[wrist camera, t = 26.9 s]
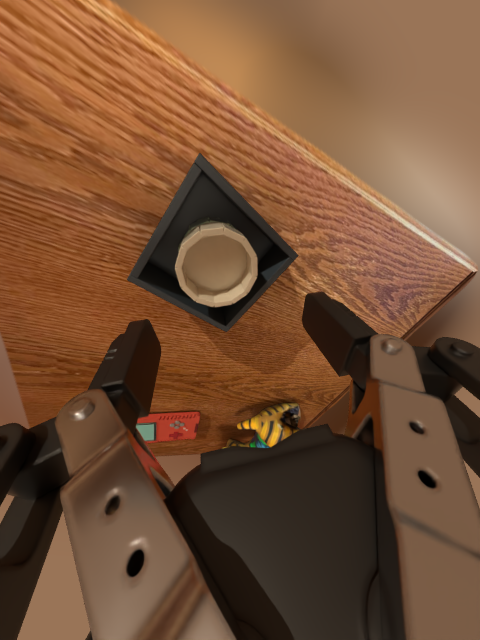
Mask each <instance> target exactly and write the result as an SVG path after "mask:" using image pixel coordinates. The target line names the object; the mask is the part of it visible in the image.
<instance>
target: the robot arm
mask: <svg viewBox="0 0 480 640" xmlns="http://www.w3.org/2000/svg"><path fill="white" fill-rule="evenodd" d="M302 323H303V326H304V328H305V330H306V331H307V333H308V334H309V336H310V337H311V338H312V340H313V341H314V342H315V344H316V345H317V347H318V348H319V349H320V351H321V352H322V353H323V355H324V356H325V358H326V359H327V360H328V362H329V363H330V365H331V366H332V367H333V369H334V370H335V371H336V373H337V374H338V376H339V377H340V376H345V375H350V376H351V377H352V380H351V382H350V397H349V413H348V422H347V426H346V429H345V433H344V435H343V434H337V433H332V431H331V429H330V427H329V426H328V424H324V425H320V426H315V427H311V428H307V429H303V430H299V431H297V432H295V433H293V434H292V435H290V436H288V437H287V438H285V439H283V440H282V441H280V442H278V443H277V444H275V445H273V446H272V447H269V448H258V447H241V446H231V447H227V448H223V449H219V450H215V451H210V452H206V453H202V454H201V464H200V465H198V466H196V467H195V468H194V469H192V470H191V471H190V472H189V473H187V474H186V475H185V476H184V477H183V478H182V479H181V480H180V481H179V482H178V483H177V485H176V486H175V485H174V484H173V482H172V481H171V479H170V478H169V477H168V475H167V474H166V472H165V471H164V470H163V468H162V467H161V466H160V464H159V463H158V462H157V459H156V458H155V456H154V455H153V453H152V451H151V450H150V448H149V447H148V445H147V444H146V442H145V440H144V439H143V437H142V436H141V434H140V432H139V431H138V429H137V428H136V425H137V421H138V418H143V417H147V416H149V412H150V407H151V402H152V397H153V392H154V387H155V382H156V377H157V372H158V367H159V362H160V357H161V346H160V342H159V340H158V338H157V336H156V333H155V331H154V329H153V327H152V325H151V323H150V321H149V320H148V319H146V320H139V321H133V322H130V323H129V325H128V327H127V329H126V332H125V334H120V335H119V336H118V337H117V338H116V339H115V340H114V341H113V342H112V343H111V345H110V347H109V349H108V351H107V352H108V353H106V355H105V357H104V361H102V363H101V365H100V367H99V369H98V371H97V373H96V375H95V377H94V378H93V380H92V382H91V384H90V386H89V388H88V390H87V391H84V392H82V393H80V394H78V395H77V396H75V397H74V398H72V399H71V400H70V401H68V402H67V403H66V404H65V405H64V406H63V407H62V409H61V410H60V411H59V413H58V415H57V417H55V418H52V419H50V420H48V421H46V422H43V423H41V424H39V425H37V426H34V427H32V428H30V429H26V428H25V427H23V426H21V425H20V424H17V423H11V424H6V425H3V426H0V505H1V504H2V502H3V500H4V498H5V497H6V495H7V494H8V495H12V496H15V497H14V499H13V501H12V503H11V505H10V506H9V508H8V510H7V512H6V514H5V516H4V518H3V520H2V522H1V524H0V640H17V637H18V634H19V632H20V629H21V626H22V623H23V620H24V618H25V615H26V612H27V609H28V606H29V604H30V601H31V598H32V595H33V592H34V589H35V587H36V584H37V581H38V579H39V576H40V573H41V570H42V567H43V565H44V562H45V559H46V556H47V553H48V550H49V548H50V545H51V542H52V539H53V536H54V534H55V531H56V528H57V525H58V523H59V520H60V517H61V514H62V511H64V516H65V520H66V525H67V529H68V533H69V538H70V542H71V546H72V551H73V555H74V560H75V564H76V569H77V573H78V577H79V581H80V586H81V590H82V594H83V599H84V604H85V608H86V612H87V617H88V621H89V625H90V630H91V631H90V632H89V634H88V636H87V638H86V639H85V640H480V509H479V506H478V503H477V500H476V497H475V494H474V491H473V488H472V485H471V482H470V479H469V476H468V473H467V470H466V467H465V464H464V461H465V462H466V463H467V464H468V465H469V466H470V468H471V469H472V470H473V471H474V472H475V473H476V474H477V475H478V476H479V478H480V418H479V417H478V416H477V415H476V414H475V413H474V412H473V411H471V410H470V409H469V408H468V407H467V406H466V405H465V404H464V403H462V402H461V401H460V400H459V399H458V398H457V397H456V396H455V395H454V394H455V393H456V392H458V391H459V390H460V389H461V388H462V387H464V388H466V389H467V390H468V391H469V392H470V393H472V394H473V395H474V396H475V397H476V398H478V399H479V400H480V348H478V347H476V346H475V345H473V344H471V343H468V342H466V341H463V340H460V339H455V338H449V337H442V338H439V339H437V340H436V341H435V342H434V344H433V345H432V346H431V347H416V346H415V347H414V346H411V345H410V344H408V343H407V342H406V341H404V340H402V339H400V338H398V337H395V336H392V335H388V334H378V333H377V332H375V331H374V330H373V329H372V328H371V327H370V326H368V325H367V324H366V323H365V322H364V321H363V320H361V319H360V318H359V317H358V316H356V315H355V314H354V313H353V312H352V311H350V309H348V308H347V307H346V306H345V305H344V304H342V303H340V302H338V301H336V300H334V299H331V298H330V297H328V296H327V295H326V294H325V293H324V292H316V293H310V294H307V295H306V297H305V303H304V309H303V316H302ZM463 460H464V461H463Z"/></svg>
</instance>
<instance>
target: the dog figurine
mask: <svg viewBox="0 0 480 640" xmlns="http://www.w3.org/2000/svg"><path fill="white" fill-rule="evenodd" d="M299 418H300V419H301V412H300V407H299V405H298V404H297V403H281V404H278V405H273V406H270V407H267V408H265V409H263V411H261V412H260V413H259V414H258V415H256V416H255V417H252V418H251V419H247V420H245V421H243V422H240V423H238V424H237V428H238V429H250V430H255V431H256V432H255V435H254V437H253V438H252V439H251V440H250V441H249V442H248V443H242V442H240V441H237V440H233V439H229V440H228V442H227V444H226V447H224V448H227V447H231V446H241V447H258V448H269V447H272V446H273V445H275V444H277V443H278V442H280V441H282V440H283V439H285V438H287V437H288V436H290V435H292V434H293V433H295V432H297V431H299V430H301V429H300V428H298V427H297V426H298V425H297V423H298V420H299ZM304 429H305V428H304ZM302 430H303V429H302ZM222 449H223V448H222Z"/></svg>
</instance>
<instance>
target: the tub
mask: <svg viewBox="0 0 480 640" xmlns="http://www.w3.org/2000/svg"><path fill="white" fill-rule="evenodd" d="M205 217H218V218H222V219H225V220H227V221H229V222H230V223H231V224H232V225H234V226H235V227H236V228H237V229H238V230H239V231H240V232H241V233H242V234H243V235H244V236H245V238H246V239H247V240H248V242H249V243H250V245H251V247H252V248H253V250H254V251H255V253H256V255H257V266H258V276H257V279H256V280H255V282H254V284H253V286H252V288H251V290H250V292H249V293H248V292H247V293H248V294H247V295H246V296H244V297H243V298H241V299H240V300H238V301H237V302H236V303H234V304H233V303H232V305H226V306H220V307H210V306H207V305H204V304H200V303H197V302H196V301H194V300H193V299H192V298H191V297H189V296H188V295H187V294H186V293H185V292H184V291H183V290H182V289H181V287H180V285H179V281H178V278H177V274H176V271H175V263H176V259H177V255H178V246H179V242H180V239H181V237H182V236H183V234H184V232H185V230H186V229H187V228H188V226H189V225H191V224H192V223H193V222H195V221H197V220H199V219H201V218H205ZM297 257H298V254H297V253H296V252H295V251H294V250H293V249H292V248H291V247H290V246H289V245H288V244H287V243H286V242H285V241H284V240H283V239H282V238H281V237H280V236H279V235H278V234H277V233H276V232H275V230H274V229H273V228H272V227H271V226H270V225H269V224H268V223H267V222H266V221H265V220H264V219H263V218H262V217H261V216H260V215H259V214H258V213H257V212H256V211H255V210H254V209H253V208H252V207H251V205H250V204H249V203H248V202H247V201H246V200H245V199H244V198H243V197H242V196H241V195H240V194H239V193H238V192H237V191H236V190H235V189H234V188H233V187H232V186H231V185H230V184H229V183H228V182H227V181H226V179H225V178H224V177H223V176H222V175H221V174H220V173H219V172H218V171H217V170H216V169H215V168H214V167H213V166H212V165H211V164H210V163H209V162H208V161H207V160H206V159H205V158H204V157H203V156H202V154H201V153H199V155H198V156H197V158H196V160H195V163H193V165H192V167H191V169H190V170H189V172H188V174H187V176H186V177H185V179H184V181H183V183H182V184H181V186H180V188H179V190H178V191H177V193H176V195H175V196H174V198H173V200H172V202H171V203H170V205H169V207H168V209H167V210H166V212H165V214H164V216H163V217H162V219H161V221H160V223H159V224H158V226H157V228H156V230H155V231H154V233H153V235H152V237H151V238H150V240H149V242H148V244H147V245H146V247H145V249H144V250H143V252H142V254H141V256H140V257H139V259H138V261H137V263H136V264H135V266H134V268H133V270H132V271H131V273H130V275H129V277H128V278H127V280H128V281H130V282H132V283H134V284H136V285H137V286H139V287H141V288H143V289H145V290H147V291H149V292H151V293H153V294H155V295H157V296H158V297H160V298H162V299H164V300H166V301H168V302H170V303H172V304H174V305H176V306H178V307H179V308H181V309H183V310H185V311H187V312H189V313H191V314H193V315H195V316H197V317H199V318H200V319H202V320H204V321H206V322H208V323H210V324H212V325H214V326H216V327H218V328H219V329H221V330H223V331H225V332H227V331H228V330H229V329H230V328H231V327H232V326H233V325H234V324H235V323H236V322H237V321H238V320H239V319H240V318H241V317H242V315H243V314H244V313H245V312H246V311H247V310H248V309H249V308H250V307H251V306H252V305H253V304H254V303H255V302H256V301H257V300H258V298H259V297H260V296H261V295H262V294H263V293H264V292H265V291H266V290H267V289H268V288H269V287H270V286H271V285H272V284H273V282H274V281H275V280H276V279H277V278H278V277H279V276H280V275H281V274H282V273H283V272H284V271H285V270H286V269H287V268H288V267H289V265H290V264H291V263H292V262H293V261H294V260H295V259H296V258H297Z"/></svg>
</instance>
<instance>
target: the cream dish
mask: <svg viewBox="0 0 480 640" xmlns="http://www.w3.org/2000/svg"><path fill="white" fill-rule="evenodd" d="M175 271H176V274H177V278H178V281H179V285H180V287H181V289H182V290H183V291H184V292H185V293H186V294H187V295H188V296H189V297H191V298H192V299H193V300H194V301H196V302H197V303H200V304H204V305H207V306H210V307H220V306H226V305H232V303H233V304H234V303H236V302H237V301H238V300H240V299H241V298H243V297H244V296H246V295H247V294H248V293H249V292H250V290H251V288H252V286H253V284H254V282H255V280H256V279H257V276H258V266H257V255H256V253H255V251H254V250H253V248H252V247H251V245H250V243H249V242H248V240H247V239H246V238H245V236H244V235H243V234H242V233H241V232H240V231H238V230H236V229H235V228H233V227H231V226H229V225H227V224H224V223H220V222H209V223H204V224H201V225H199V226H197V227H195V228H194V229H192V230H191V231H190V232H189V233H188V234H187V235H186V236H185V237H184V238H183V240H182V242H181V245H180V248H179V252H178V255H177V259H176V263H175ZM247 292H248V293H247Z"/></svg>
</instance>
